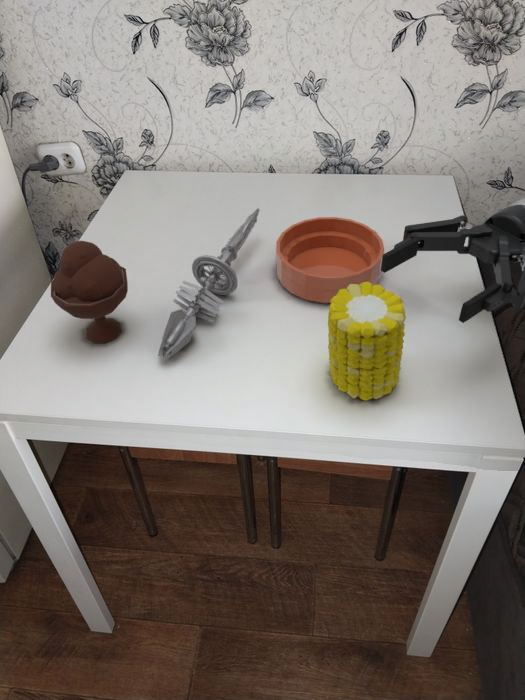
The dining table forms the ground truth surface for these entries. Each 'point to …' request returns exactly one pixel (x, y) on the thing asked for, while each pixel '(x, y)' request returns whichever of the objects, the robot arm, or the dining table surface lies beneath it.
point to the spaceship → (204, 291)
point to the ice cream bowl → (90, 288)
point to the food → (365, 340)
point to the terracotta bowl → (327, 257)
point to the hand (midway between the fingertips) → (421, 287)
